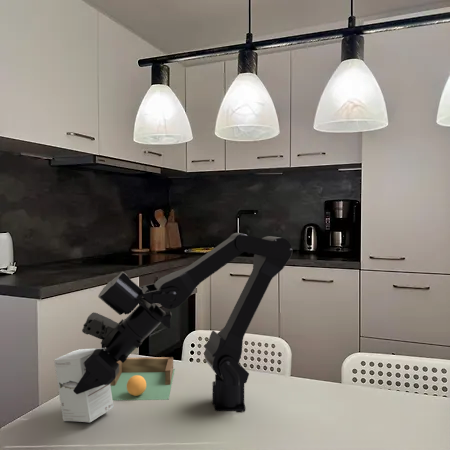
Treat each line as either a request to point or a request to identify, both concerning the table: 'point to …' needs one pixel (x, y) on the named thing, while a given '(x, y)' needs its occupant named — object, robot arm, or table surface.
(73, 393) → the supplement box
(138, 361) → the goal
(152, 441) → the table surface
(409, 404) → the table surface
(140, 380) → the ball
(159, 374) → the pitch mat
